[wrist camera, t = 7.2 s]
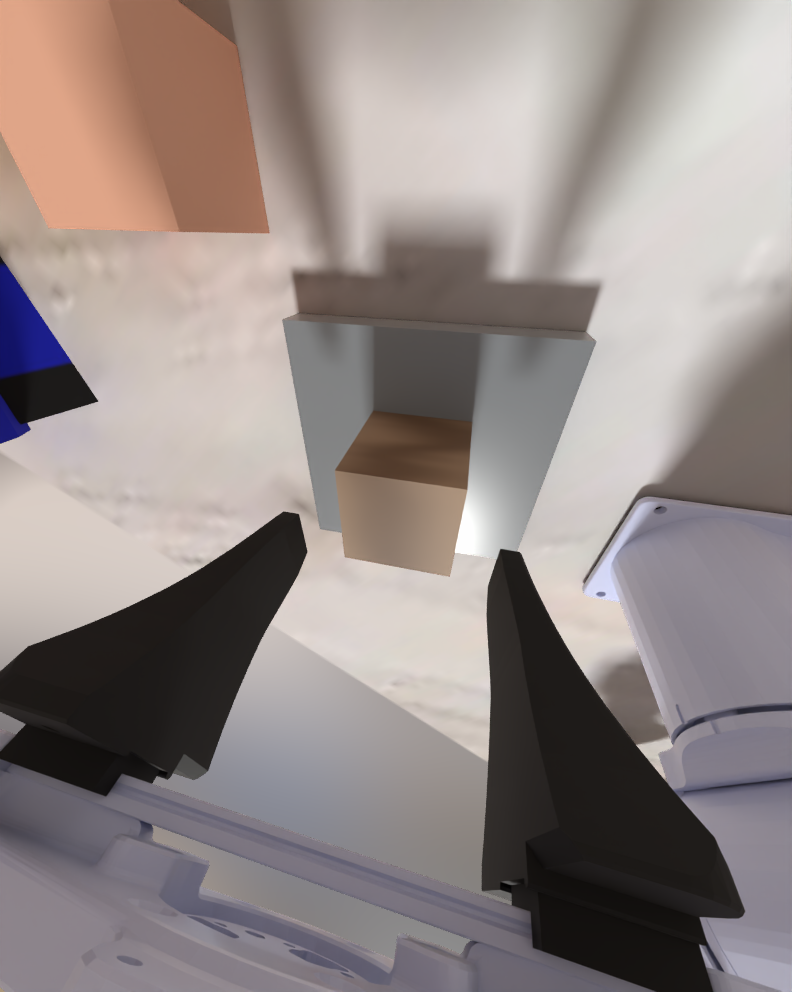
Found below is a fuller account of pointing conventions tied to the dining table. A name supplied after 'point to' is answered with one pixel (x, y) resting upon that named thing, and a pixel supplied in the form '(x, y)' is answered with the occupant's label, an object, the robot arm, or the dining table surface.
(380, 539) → the walnut block
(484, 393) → the base plate
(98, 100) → the terracotta block
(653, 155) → the dining table surface
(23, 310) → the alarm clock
